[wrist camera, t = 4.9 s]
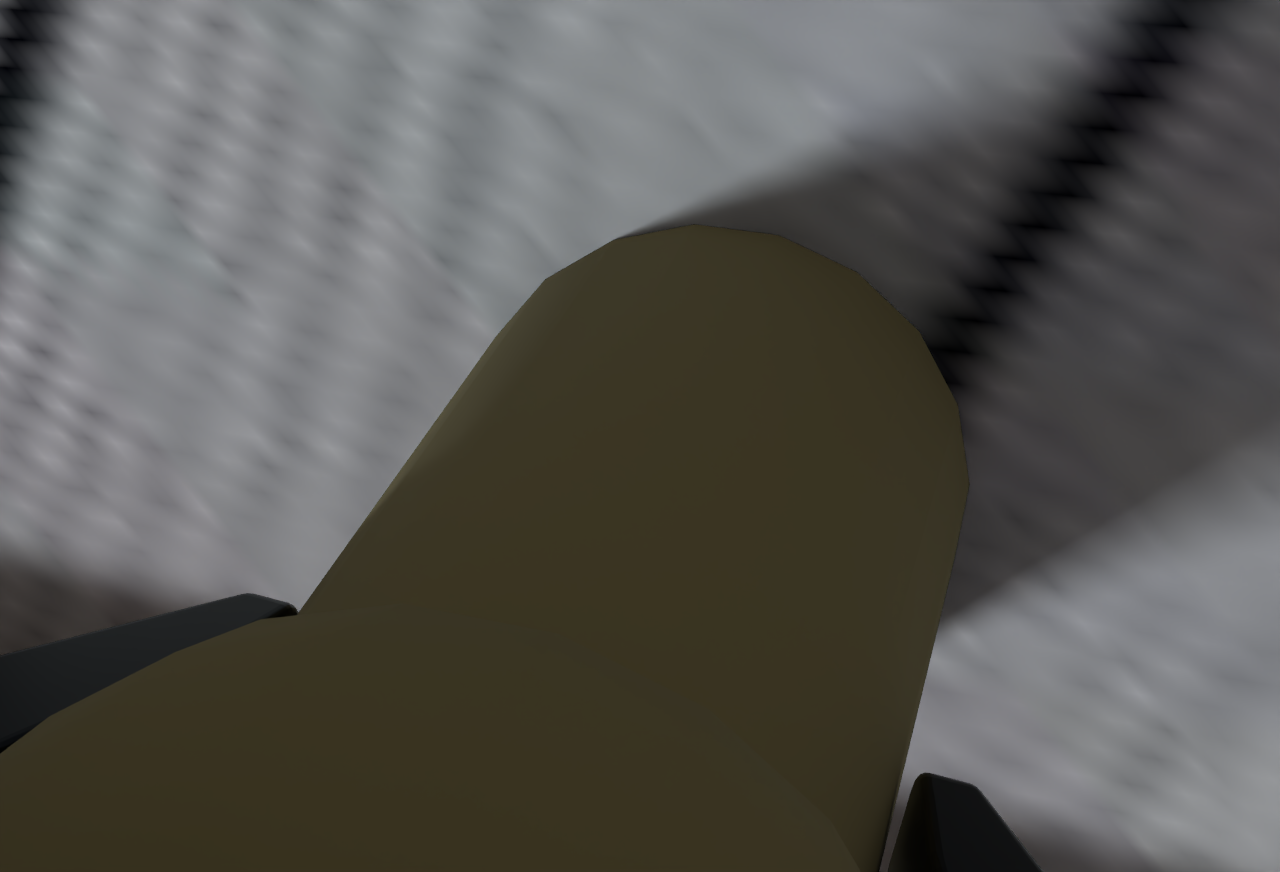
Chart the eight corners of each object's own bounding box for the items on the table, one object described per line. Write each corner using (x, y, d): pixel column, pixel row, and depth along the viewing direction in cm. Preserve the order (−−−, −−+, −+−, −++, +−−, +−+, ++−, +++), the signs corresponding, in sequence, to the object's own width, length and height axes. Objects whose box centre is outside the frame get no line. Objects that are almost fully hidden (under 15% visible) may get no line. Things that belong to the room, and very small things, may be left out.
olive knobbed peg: (1035, 641, 14) (1404, 2368, 4) (573, 747, 16) (-61, 2087, 5) (872, 143, 12) (709, 618, 2) (387, 324, 14) (-932, 1039, 4)
